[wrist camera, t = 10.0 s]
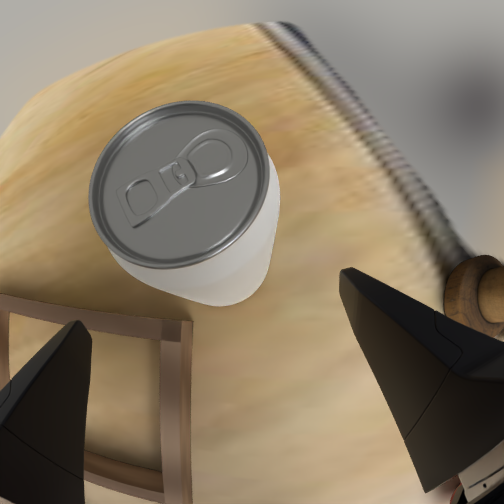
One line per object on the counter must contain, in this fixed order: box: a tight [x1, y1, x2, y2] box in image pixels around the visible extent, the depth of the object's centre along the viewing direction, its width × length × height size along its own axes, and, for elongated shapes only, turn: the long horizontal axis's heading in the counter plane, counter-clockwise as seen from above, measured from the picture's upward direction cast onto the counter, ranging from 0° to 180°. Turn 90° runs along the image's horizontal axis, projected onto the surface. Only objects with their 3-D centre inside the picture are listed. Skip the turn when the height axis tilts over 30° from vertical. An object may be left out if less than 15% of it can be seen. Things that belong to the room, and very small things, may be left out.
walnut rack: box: [0, 293, 193, 504], centre depth 15 cm, size 22×19×3 cm
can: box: [89, 101, 280, 306], centre depth 14 cm, size 6×6×12 cm
